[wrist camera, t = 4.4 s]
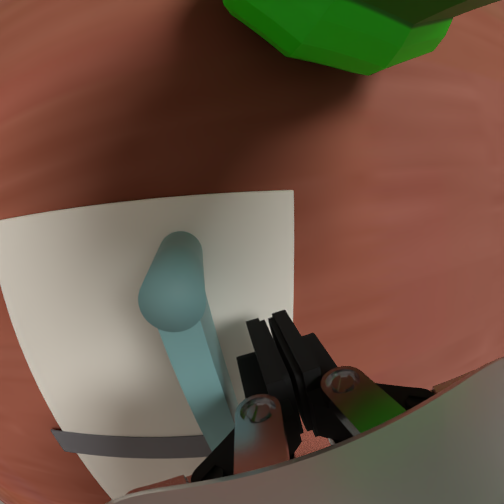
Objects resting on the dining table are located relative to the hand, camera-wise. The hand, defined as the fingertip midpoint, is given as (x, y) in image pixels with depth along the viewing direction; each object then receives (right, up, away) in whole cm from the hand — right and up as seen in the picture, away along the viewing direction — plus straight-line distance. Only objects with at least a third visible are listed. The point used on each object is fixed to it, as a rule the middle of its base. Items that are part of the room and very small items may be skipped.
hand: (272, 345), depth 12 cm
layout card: (-7, -9, +4) cm, 12 cm away
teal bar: (-3, -2, +2) cm, 4 cm away
